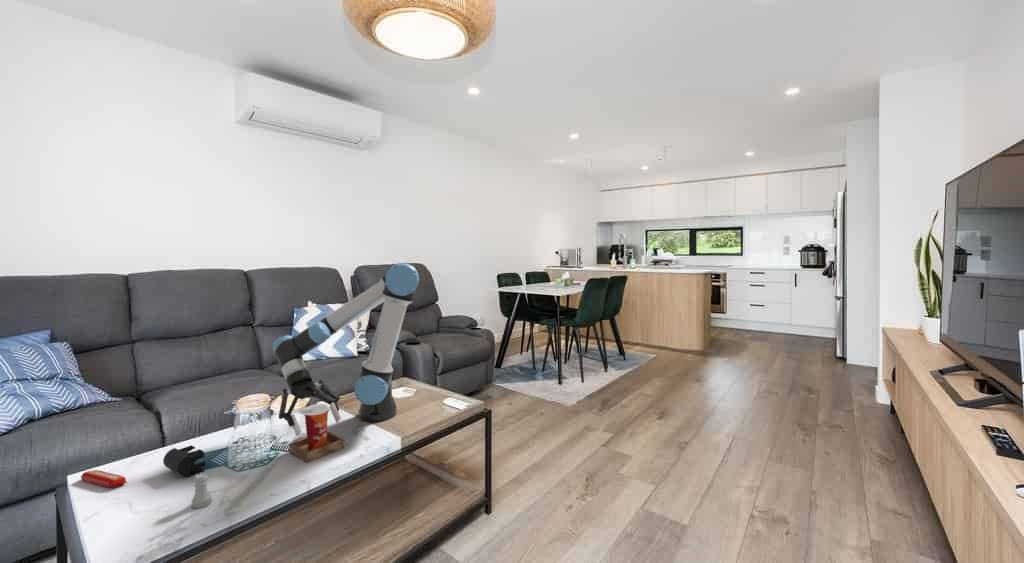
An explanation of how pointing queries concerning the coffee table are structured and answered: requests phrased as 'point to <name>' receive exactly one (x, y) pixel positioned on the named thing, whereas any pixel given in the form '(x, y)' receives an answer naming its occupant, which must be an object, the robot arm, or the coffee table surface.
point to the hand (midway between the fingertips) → (319, 426)
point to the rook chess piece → (201, 491)
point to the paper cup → (316, 425)
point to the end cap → (184, 461)
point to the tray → (303, 453)
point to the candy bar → (103, 478)
